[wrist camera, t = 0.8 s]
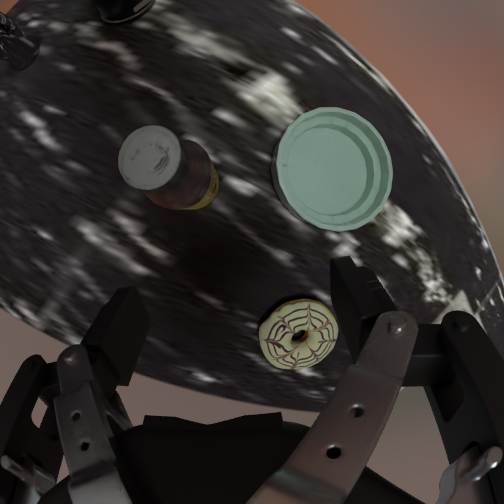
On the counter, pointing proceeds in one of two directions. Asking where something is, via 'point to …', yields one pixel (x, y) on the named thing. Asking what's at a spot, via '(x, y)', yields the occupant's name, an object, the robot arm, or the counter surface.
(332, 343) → the decorated donut
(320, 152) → the bowl
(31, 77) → the counter surface
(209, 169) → the sauce bottle
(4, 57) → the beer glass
